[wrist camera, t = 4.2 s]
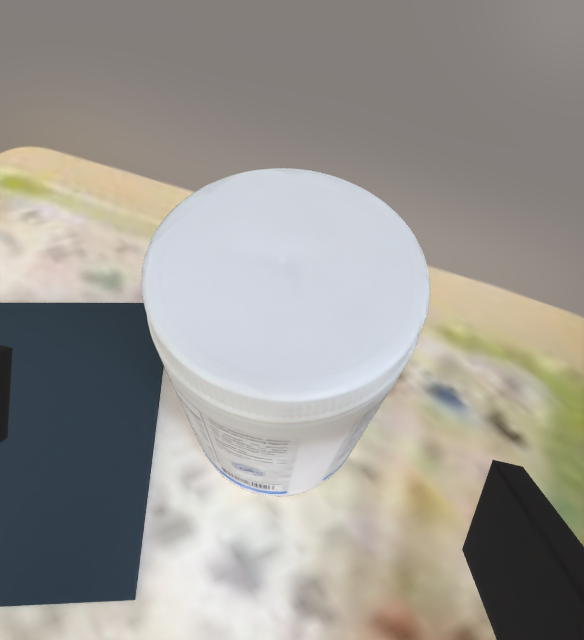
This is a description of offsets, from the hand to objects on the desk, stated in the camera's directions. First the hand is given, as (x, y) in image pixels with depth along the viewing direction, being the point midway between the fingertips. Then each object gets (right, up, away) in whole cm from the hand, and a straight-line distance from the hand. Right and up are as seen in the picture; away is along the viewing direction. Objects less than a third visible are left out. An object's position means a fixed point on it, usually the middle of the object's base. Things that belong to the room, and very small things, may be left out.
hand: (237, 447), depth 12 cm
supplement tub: (0, -2, +15) cm, 15 cm away
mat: (-13, -3, +13) cm, 19 cm away
